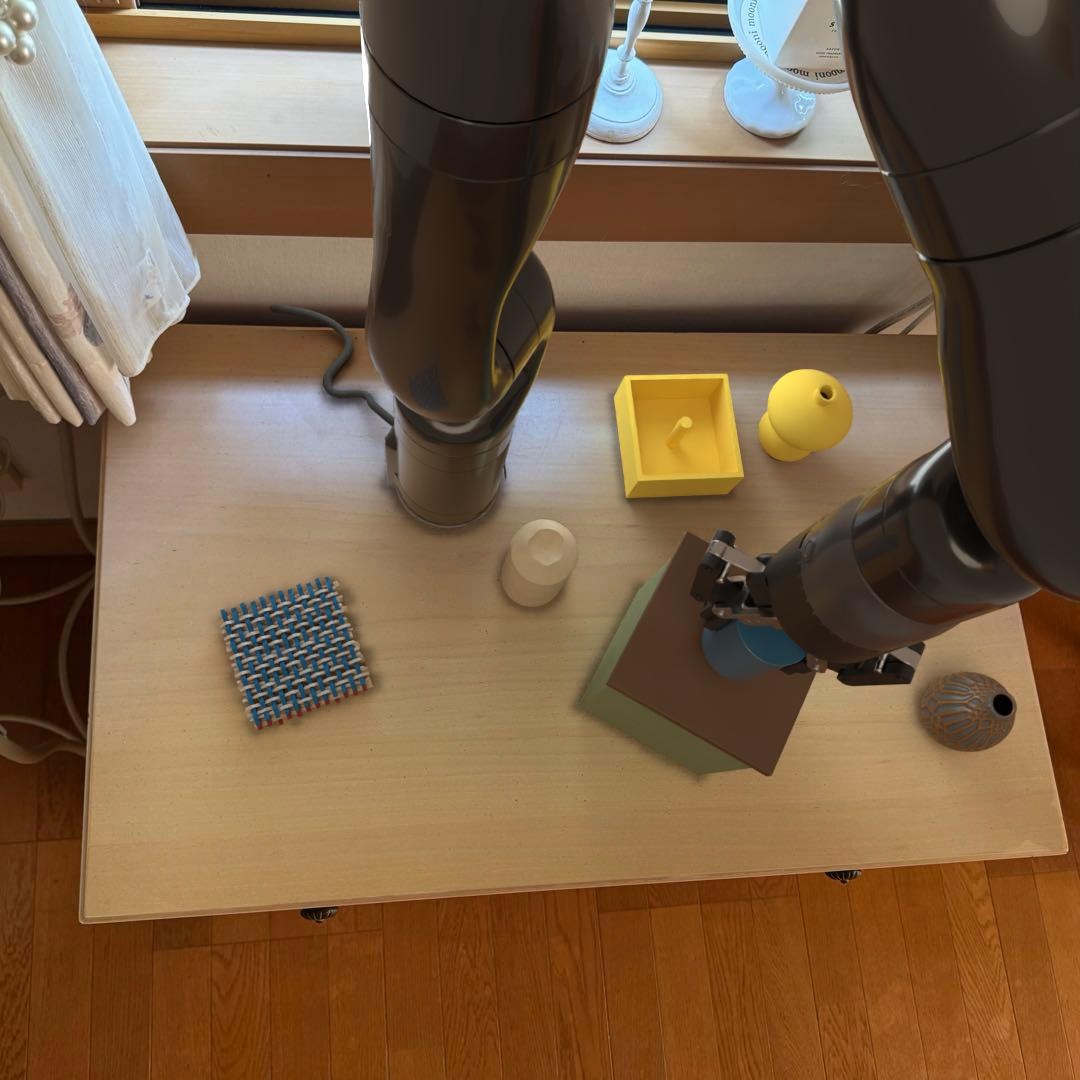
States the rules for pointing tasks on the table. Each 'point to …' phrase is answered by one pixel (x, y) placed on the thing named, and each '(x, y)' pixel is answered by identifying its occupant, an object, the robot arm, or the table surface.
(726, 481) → the bath set
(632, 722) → the stand
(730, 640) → the blue cylinder
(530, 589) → the candle
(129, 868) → the table surface
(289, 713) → the woven mat
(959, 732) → the vase
